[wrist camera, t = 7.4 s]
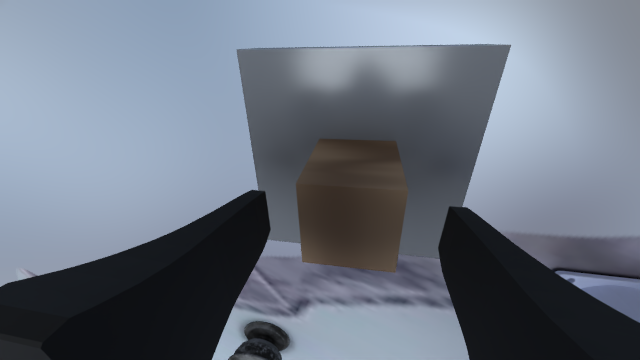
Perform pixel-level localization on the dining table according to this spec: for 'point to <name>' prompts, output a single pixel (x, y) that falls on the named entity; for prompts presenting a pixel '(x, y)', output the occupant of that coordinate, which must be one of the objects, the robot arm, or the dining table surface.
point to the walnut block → (352, 204)
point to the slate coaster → (372, 121)
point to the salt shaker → (262, 342)
